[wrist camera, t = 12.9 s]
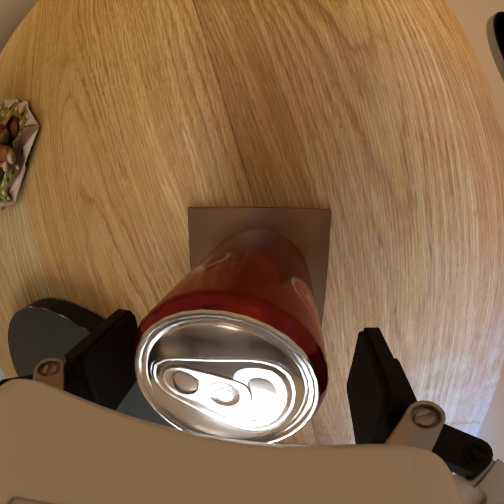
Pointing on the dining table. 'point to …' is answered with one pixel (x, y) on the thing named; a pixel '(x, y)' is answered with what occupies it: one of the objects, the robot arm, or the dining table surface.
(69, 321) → the disc
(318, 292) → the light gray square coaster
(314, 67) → the dining table surface
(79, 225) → the dining table surface
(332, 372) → the dining table surface
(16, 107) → the bear figurine
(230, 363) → the soda can
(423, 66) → the dining table surface
